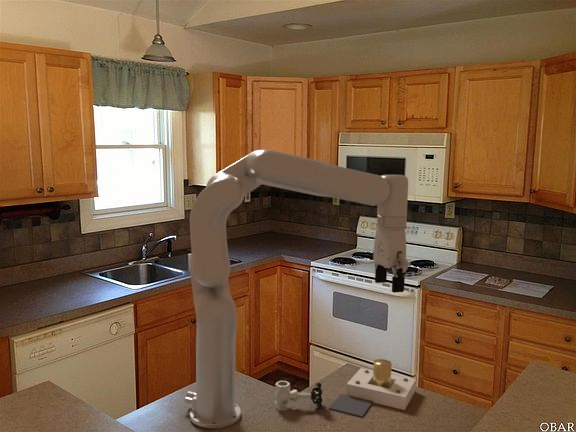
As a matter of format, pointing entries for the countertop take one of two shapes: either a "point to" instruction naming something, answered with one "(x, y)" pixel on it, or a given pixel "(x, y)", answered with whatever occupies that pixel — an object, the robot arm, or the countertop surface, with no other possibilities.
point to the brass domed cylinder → (382, 373)
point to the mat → (351, 405)
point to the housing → (382, 389)
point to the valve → (294, 395)
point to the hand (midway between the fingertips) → (388, 287)
